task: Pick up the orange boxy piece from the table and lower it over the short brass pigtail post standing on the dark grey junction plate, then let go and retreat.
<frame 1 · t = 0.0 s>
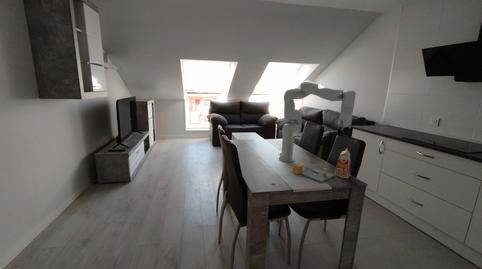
hand: (343, 135, 154), 31 cm above the table, fingers open, 9 cm apart
milk carton: (342, 175, 166), on the table
orange boxy piece: (297, 172, 167), on the table
junction plate: (317, 175, 163), on the table
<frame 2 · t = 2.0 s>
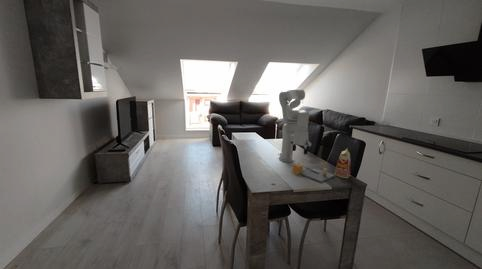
hand: (299, 152, 163), 16 cm above the table, fingers open, 9 cm apart
nothing on the table moved.
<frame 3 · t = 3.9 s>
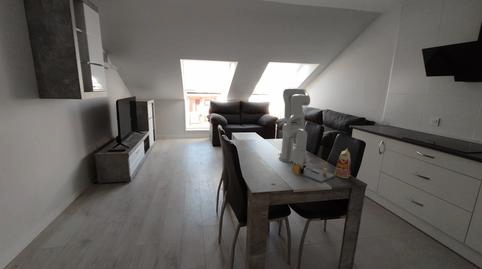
hand: (298, 171, 166), 1 cm above the table, fingers open, 6 cm apart
nothing on the table moved.
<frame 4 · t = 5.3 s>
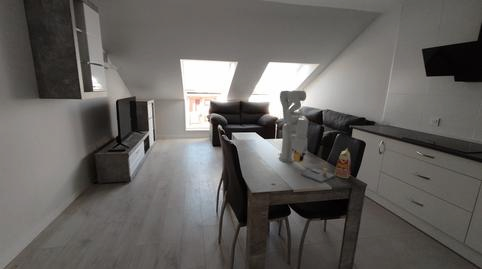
hand: (298, 159, 166), 10 cm above the table, fingers closed on orange boxy piece, 5 cm apart
orange boxy piece: (298, 160, 166), point 9 cm above the table, touching gripper
everything else where it was.
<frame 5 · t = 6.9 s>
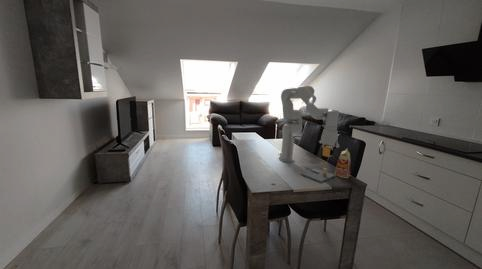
hand: (327, 153, 157), 17 cm above the table, fingers closed on orange boxy piece, 5 cm apart
orange boxy piece: (327, 155, 158), point 16 cm above the table, touching gripper
everything else where it was.
when the fingers open (3 cm above the table, at t = 9.8 s): orange boxy piece stays where it is, resting on junction plate.
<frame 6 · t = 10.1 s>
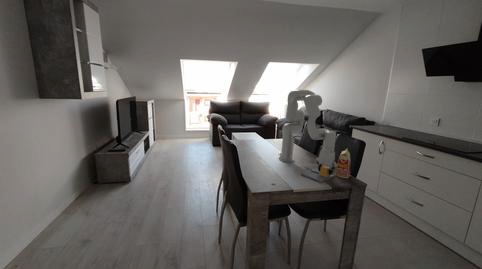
hand: (324, 172, 161), 3 cm above the table, fingers open, 7 cm apart
orange boxy piece: (324, 175, 161), point 1 cm above the table, touching junction plate
everything else where it was.
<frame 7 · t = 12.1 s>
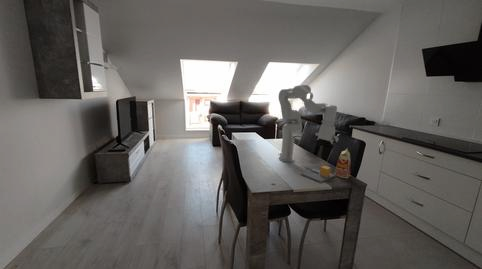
hand: (324, 147, 159), 21 cm above the table, fingers open, 9 cm apart
nothing on the table moved.
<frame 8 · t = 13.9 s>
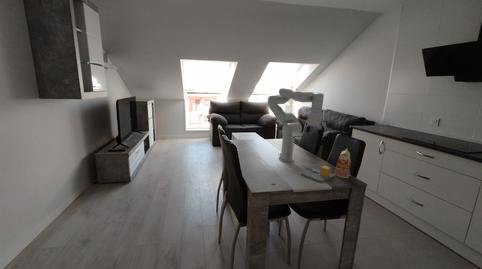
hand: (313, 133, 169), 28 cm above the table, fingers open, 9 cm apart
nothing on the table moved.
at the end: orange boxy piece 0.3 cm from the target spot on the junction plate, point 1.2 cm above the junction plate's base; orange boxy piece tilted 0°; the gripper is holding nothing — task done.
